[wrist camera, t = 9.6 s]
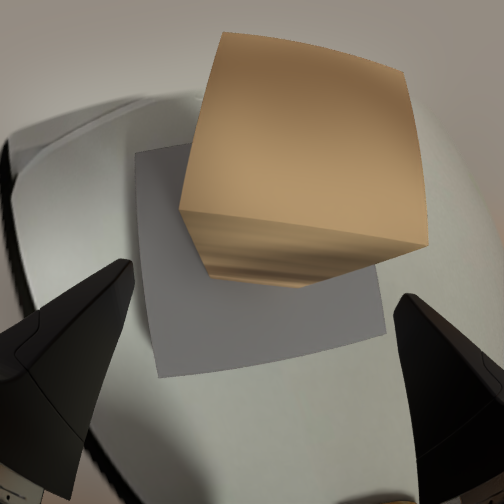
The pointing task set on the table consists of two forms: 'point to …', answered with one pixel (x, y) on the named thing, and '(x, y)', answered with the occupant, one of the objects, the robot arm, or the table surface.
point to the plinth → (232, 292)
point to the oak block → (302, 165)
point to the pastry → (400, 502)
